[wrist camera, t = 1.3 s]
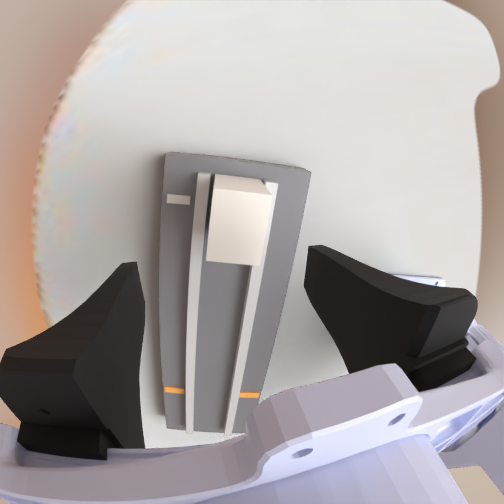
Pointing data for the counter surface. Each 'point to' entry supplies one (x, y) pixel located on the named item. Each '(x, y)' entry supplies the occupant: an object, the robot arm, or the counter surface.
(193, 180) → the fader track
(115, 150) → the counter surface
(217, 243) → the fader tab
